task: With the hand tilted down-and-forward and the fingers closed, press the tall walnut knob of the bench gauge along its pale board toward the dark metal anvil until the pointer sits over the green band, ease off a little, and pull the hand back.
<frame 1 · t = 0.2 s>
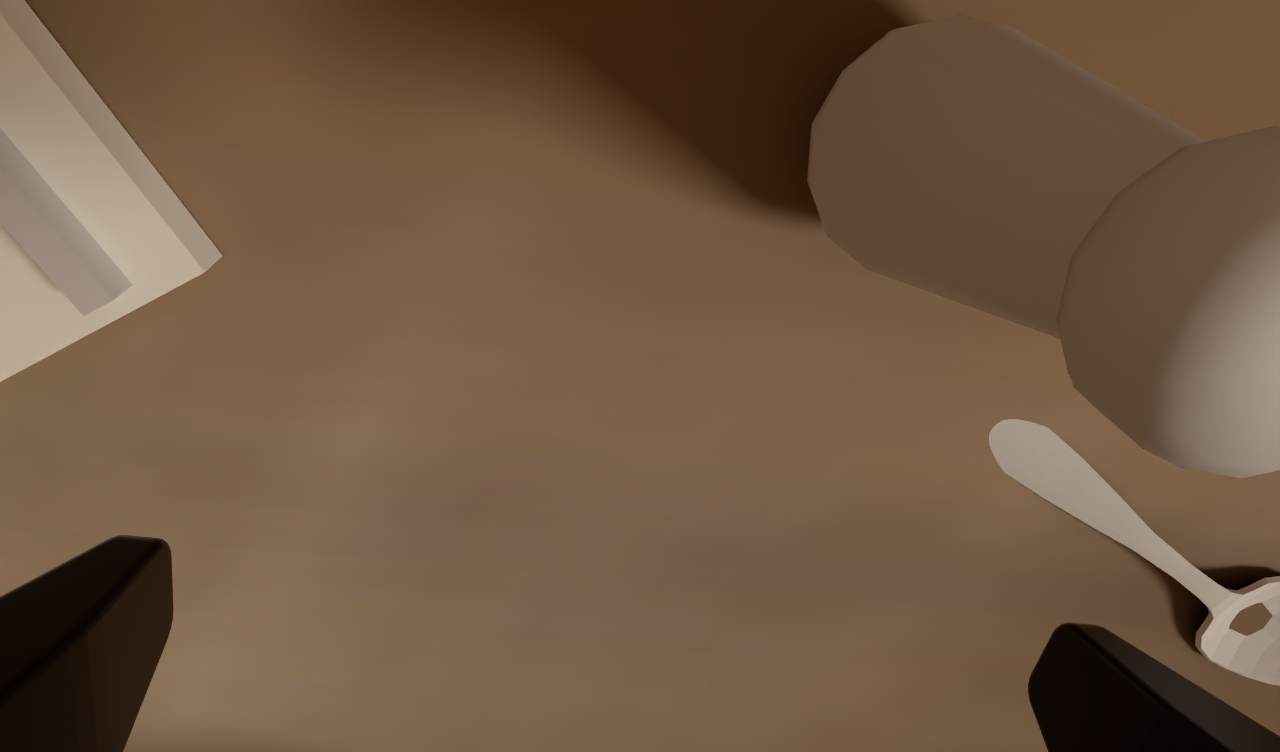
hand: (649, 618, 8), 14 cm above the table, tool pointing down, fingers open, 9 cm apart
spoon: (1129, 526, 28), on the table
salt shaker: (891, 134, 21), on the table
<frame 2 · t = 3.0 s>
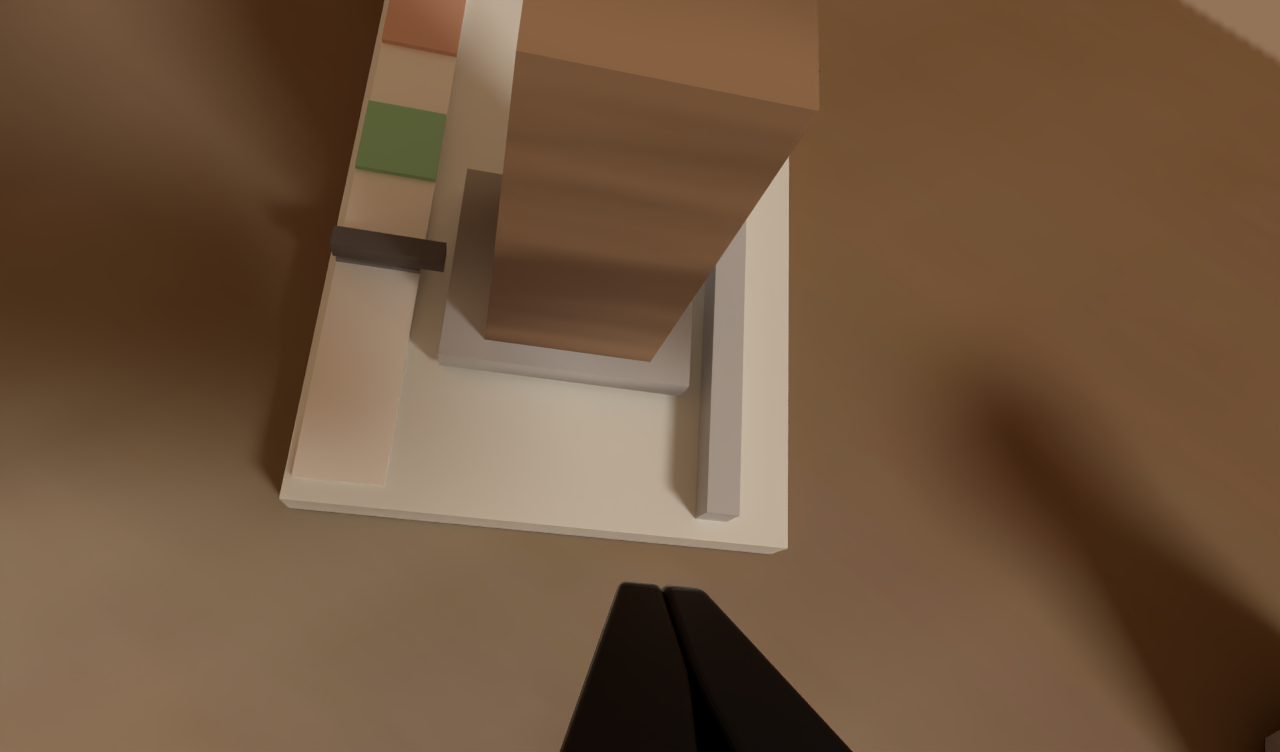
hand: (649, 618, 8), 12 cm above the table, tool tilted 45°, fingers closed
gauge board: (583, 127, 25), on the table
gauge slider: (538, 163, 16), point 7 cm above the table, slide at 0.0 cm
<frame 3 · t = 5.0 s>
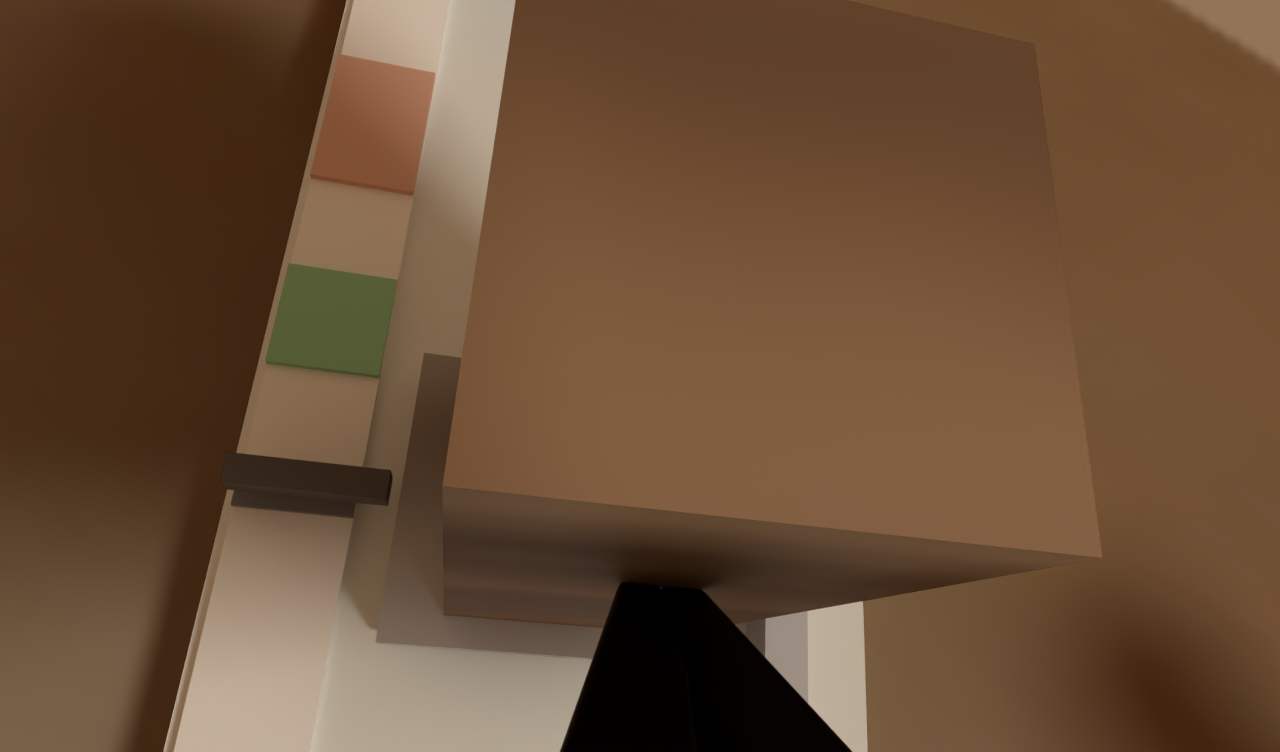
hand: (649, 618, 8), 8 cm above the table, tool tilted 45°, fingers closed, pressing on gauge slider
gauge board: (583, 276, 19), on the table
gauge slider: (517, 424, 10), point 7 cm above the table, slide at 0.3 cm, touching gripper
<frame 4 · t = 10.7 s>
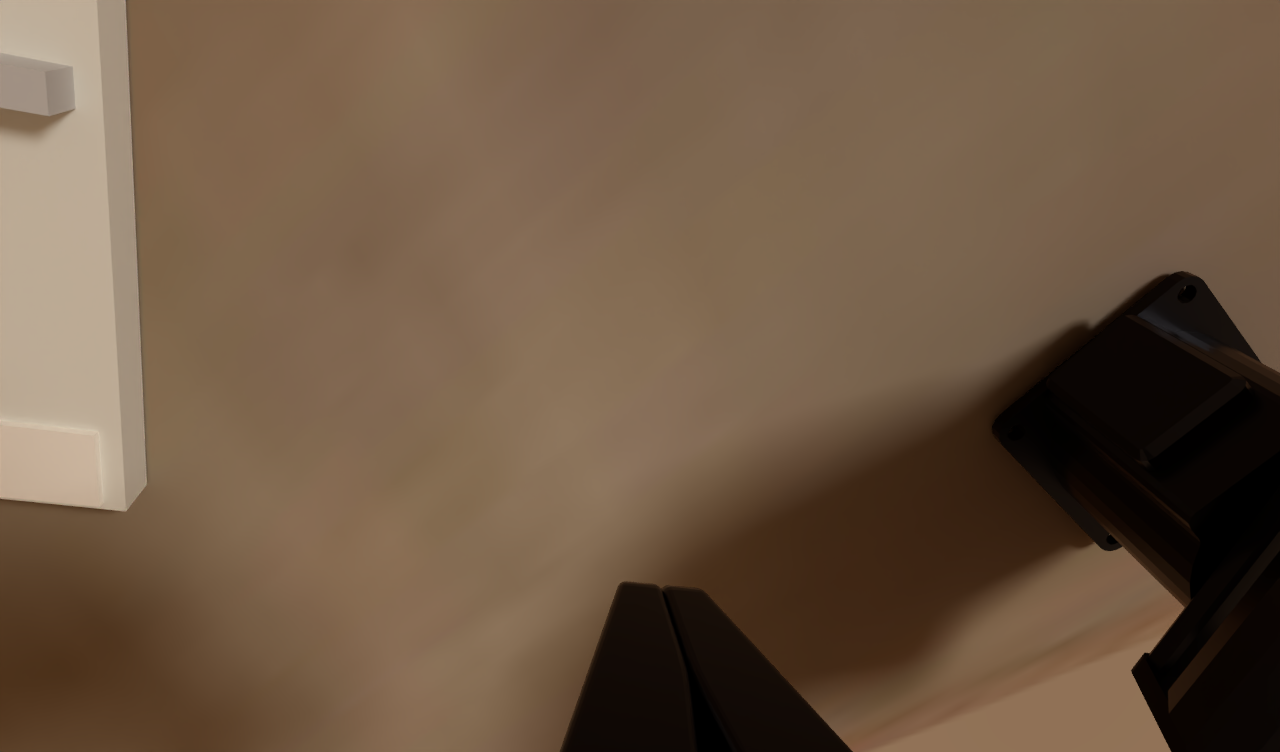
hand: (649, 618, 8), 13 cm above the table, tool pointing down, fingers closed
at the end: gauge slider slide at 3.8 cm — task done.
